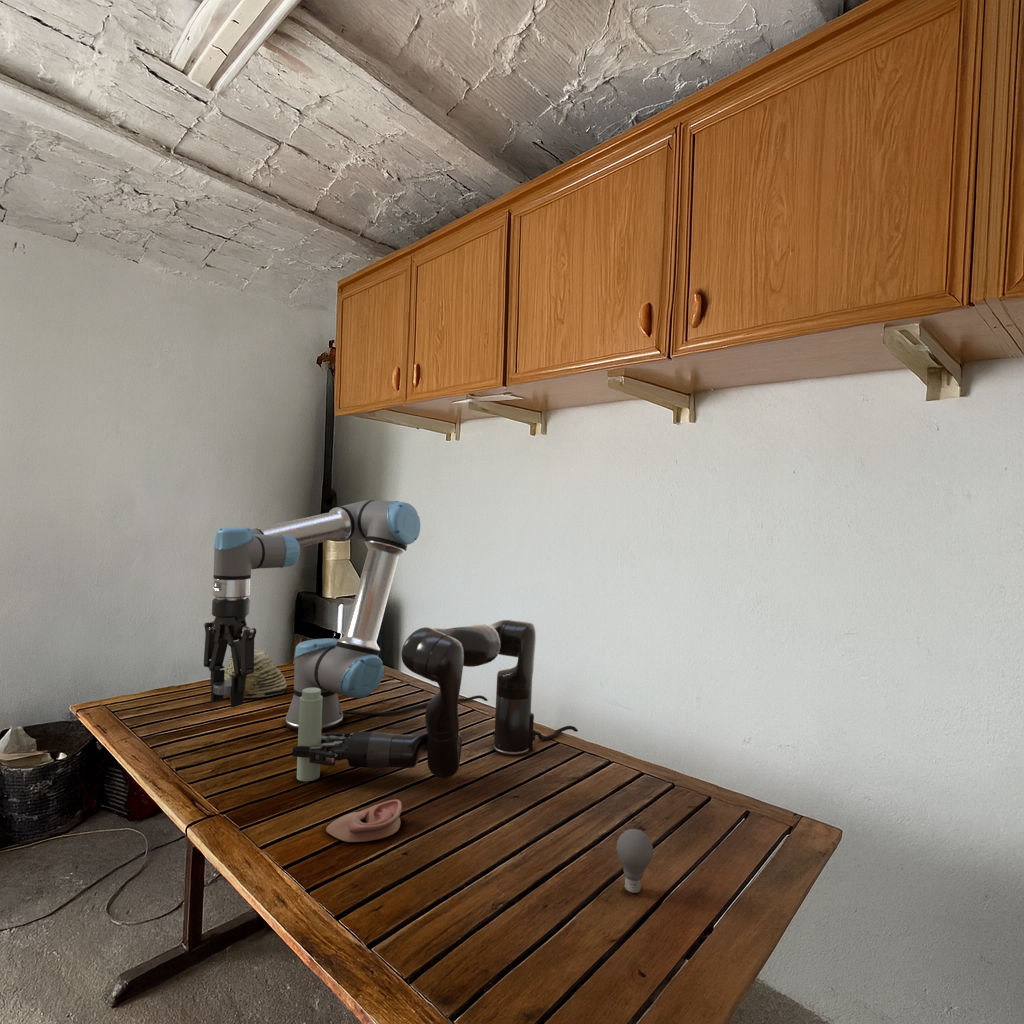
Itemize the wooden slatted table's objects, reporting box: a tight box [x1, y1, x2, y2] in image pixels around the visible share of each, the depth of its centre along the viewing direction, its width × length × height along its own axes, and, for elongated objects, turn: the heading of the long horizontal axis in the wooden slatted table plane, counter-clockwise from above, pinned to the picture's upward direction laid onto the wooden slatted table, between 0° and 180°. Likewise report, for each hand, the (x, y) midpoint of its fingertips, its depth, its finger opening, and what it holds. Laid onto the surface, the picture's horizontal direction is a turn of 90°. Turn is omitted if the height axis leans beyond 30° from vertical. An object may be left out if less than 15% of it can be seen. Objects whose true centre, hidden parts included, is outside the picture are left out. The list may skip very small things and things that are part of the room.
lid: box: [213, 679, 232, 696], centre depth 139 cm, size 6×6×2 cm
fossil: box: [224, 647, 288, 699], centre depth 198 cm, size 9×18×15 cm, turn 132°
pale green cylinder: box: [296, 688, 323, 782], centre depth 143 cm, size 5×5×20 cm
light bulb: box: [615, 828, 654, 894], centre depth 106 cm, size 6×6×10 cm
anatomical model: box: [325, 799, 403, 843], centre depth 122 cm, size 13×4×12 cm
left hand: (226, 702), depth 139 cm, fingers closed on lid, 5 cm apart
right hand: (297, 746), depth 143 cm, fingers closed on pale green cylinder, 5 cm apart
